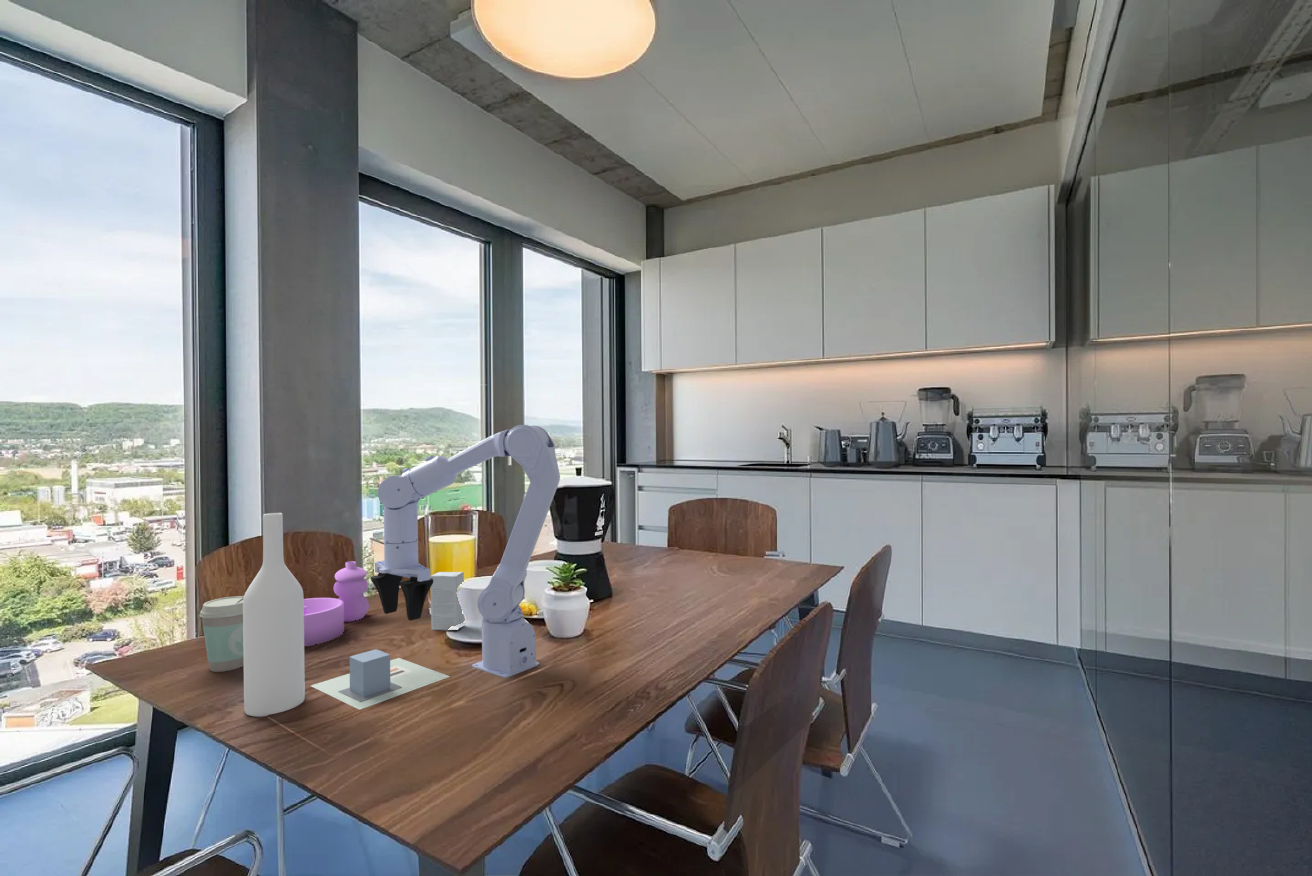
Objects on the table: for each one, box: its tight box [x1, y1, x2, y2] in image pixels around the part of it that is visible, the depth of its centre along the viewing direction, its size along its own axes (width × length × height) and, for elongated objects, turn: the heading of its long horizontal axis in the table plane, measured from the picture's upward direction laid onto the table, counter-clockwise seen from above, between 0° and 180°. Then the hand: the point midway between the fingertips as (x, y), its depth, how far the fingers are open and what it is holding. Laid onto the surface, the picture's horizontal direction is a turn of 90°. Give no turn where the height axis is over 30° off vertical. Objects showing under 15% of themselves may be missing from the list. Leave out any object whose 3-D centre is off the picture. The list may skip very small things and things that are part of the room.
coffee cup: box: [199, 595, 244, 673], centre depth 114 cm, size 8×9×12 cm
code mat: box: [310, 657, 451, 710], centre depth 106 cm, size 16×16×1 cm
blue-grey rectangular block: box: [348, 649, 391, 697], centre depth 102 cm, size 4×4×6 cm
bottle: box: [243, 512, 306, 718], centre depth 97 cm, size 8×8×30 cm
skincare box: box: [430, 571, 466, 632], centre depth 136 cm, size 6×4×12 cm
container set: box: [304, 561, 370, 647], centre depth 136 cm, size 25×15×13 cm, turn 164°
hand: (402, 615), depth 113 cm, fingers open, 7 cm apart
